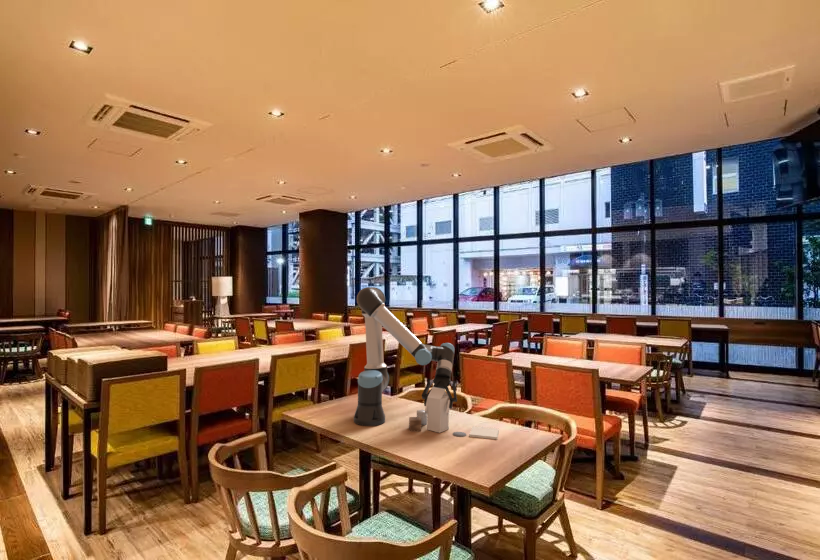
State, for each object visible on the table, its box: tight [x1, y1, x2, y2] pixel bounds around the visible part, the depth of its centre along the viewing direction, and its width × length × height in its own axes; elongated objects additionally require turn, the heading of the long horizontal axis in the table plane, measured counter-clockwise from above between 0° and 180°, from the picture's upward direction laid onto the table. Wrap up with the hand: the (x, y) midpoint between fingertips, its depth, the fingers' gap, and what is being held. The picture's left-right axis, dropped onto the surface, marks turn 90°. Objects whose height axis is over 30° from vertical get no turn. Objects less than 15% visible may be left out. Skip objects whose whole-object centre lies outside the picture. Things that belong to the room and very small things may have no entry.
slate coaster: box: [452, 431, 467, 438], centre depth 191 cm, size 6×6×1 cm
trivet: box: [469, 425, 500, 440], centre depth 193 cm, size 12×12×1 cm
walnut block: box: [408, 416, 422, 432], centre depth 197 cm, size 5×5×5 cm
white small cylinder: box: [416, 409, 427, 427], centre depth 205 cm, size 5×5×6 cm
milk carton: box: [426, 386, 450, 434], centre depth 197 cm, size 7×7×19 cm
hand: (436, 413), depth 194 cm, fingers closed on milk carton, 9 cm apart
